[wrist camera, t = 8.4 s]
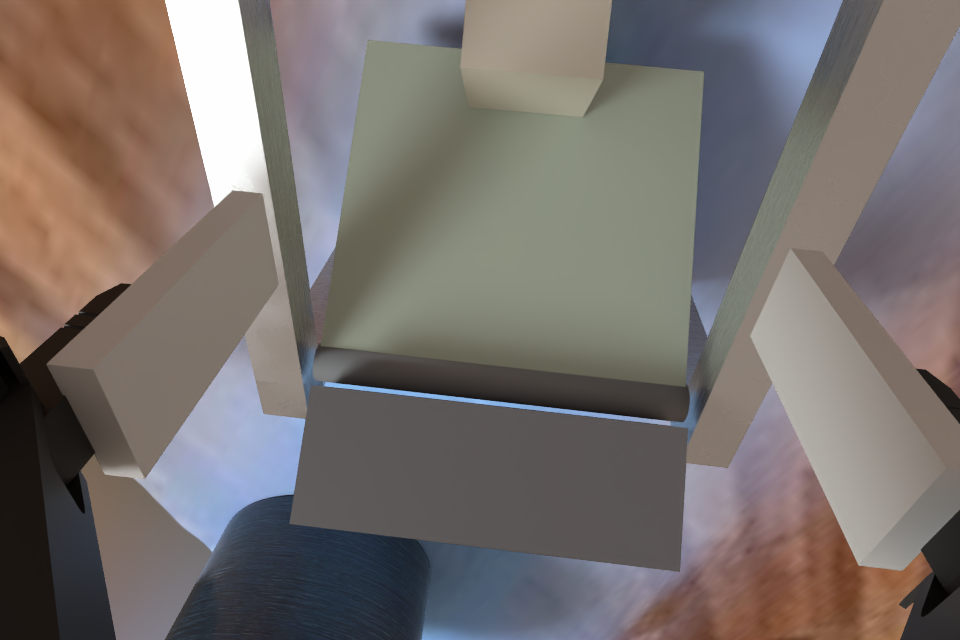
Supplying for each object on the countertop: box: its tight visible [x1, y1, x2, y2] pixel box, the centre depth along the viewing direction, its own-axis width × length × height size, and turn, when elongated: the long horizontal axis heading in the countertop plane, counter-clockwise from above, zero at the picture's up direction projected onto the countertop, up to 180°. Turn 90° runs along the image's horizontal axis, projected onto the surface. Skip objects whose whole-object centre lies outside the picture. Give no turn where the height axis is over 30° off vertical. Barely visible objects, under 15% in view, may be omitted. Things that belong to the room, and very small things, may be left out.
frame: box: [165, 0, 960, 468], centre depth 24 cm, size 20×20×14 cm
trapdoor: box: [289, 40, 704, 572], centre depth 24 cm, size 20×15×5 cm
